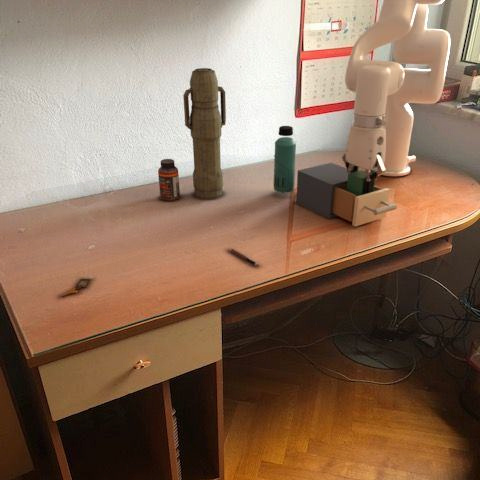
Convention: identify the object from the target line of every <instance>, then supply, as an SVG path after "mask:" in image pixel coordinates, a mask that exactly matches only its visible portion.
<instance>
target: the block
mask: <svg viewBox="0 0 480 480" xmlns="http://www.w3.org/2000/svg"><path fill="white" fill-rule="evenodd" d="M370 174H372V172H370ZM364 181H366V172H365V170H364V169H361V170H358V171H356V172H352V173H348V181H347V191H348V192H350V193H353V194H355V195H356V196H360V195H363V187H364ZM375 182H376V180H375V181H374V184H375ZM373 191H374V188H373Z"/></svg>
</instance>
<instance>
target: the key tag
mask: <svg viewBox="0 0 480 480" xmlns="http://www.w3.org/2000/svg"><path fill="white" fill-rule="evenodd" d="M90 281H91V278H81V279H80V280H79V281H78V283H77V284H76V285H75V287H73V288H71V289H70V290H69V291H68V292H65V293H63V294H61V297H65V296H68V295H70V294H71V295H72V294H76V293H78V292H79V291H80V290H81V289H86V288H87V286H88V285H89V283H90Z"/></svg>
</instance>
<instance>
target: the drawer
mask: <svg viewBox="0 0 480 480" xmlns="http://www.w3.org/2000/svg"><path fill="white" fill-rule="evenodd" d="M390 192H391V189H390V188H388V187H385V188H382V187H380V186H377V185H375V184H374V191H373V192H371V193H367V194H364V195H360V196H356V195H355V194H353V193H350V192H348V191H347V184H344V185H340V186H336V187H334V192H333V203H332V213H333V214H335V215H337V216H336V217H340V218H342V219H344V220H346V221H348V222H350V223H351V224H352V226H353V227H358V226H361V225H365V224H369V223H371V222H374V221H378V220H380V219H384V218H386V217H387V213H388V212H391V211H395V210H397V208H398V205H397V204H396V203H389V199H390Z"/></svg>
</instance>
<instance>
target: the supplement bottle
mask: <svg viewBox="0 0 480 480" xmlns="http://www.w3.org/2000/svg"><path fill="white" fill-rule="evenodd" d="M157 175H158V187H159V197H160V199H161V200H163V201H165V202H172V201H176V200H179V199H180V197H181V191H180V177H179V169H178V167H176V164H175V159H172V158H163V159H160V167H159V168H158V170H157Z"/></svg>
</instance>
